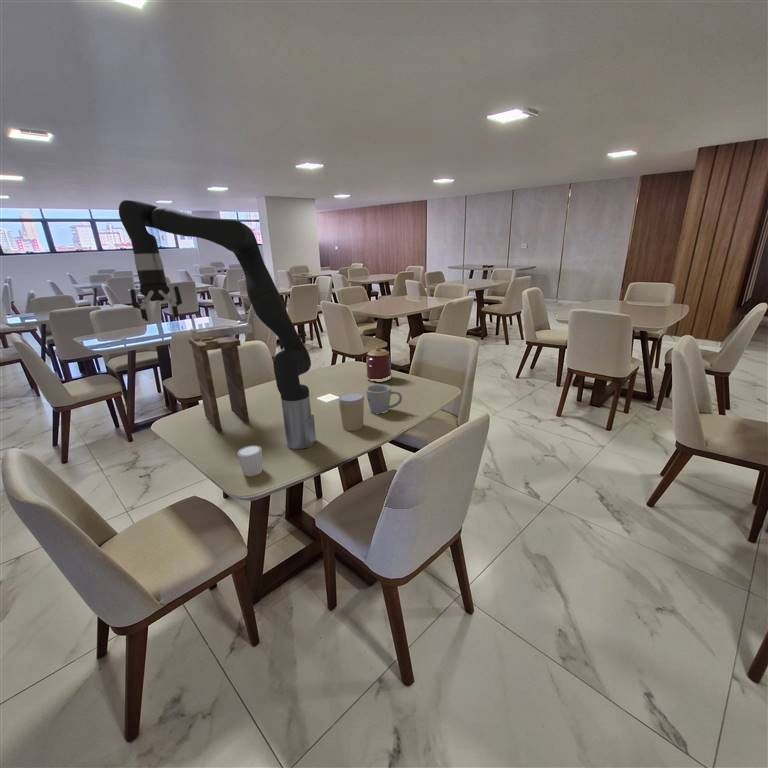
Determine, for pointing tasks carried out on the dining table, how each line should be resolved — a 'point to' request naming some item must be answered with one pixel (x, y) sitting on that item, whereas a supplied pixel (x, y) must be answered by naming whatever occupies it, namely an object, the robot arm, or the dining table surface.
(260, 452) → the white ribbed cup
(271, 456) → the dining table surface
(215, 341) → the walnut stand
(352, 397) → the coffee cup
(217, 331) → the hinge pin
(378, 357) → the canister
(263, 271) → the robot arm
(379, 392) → the mug
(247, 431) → the dining table surface
